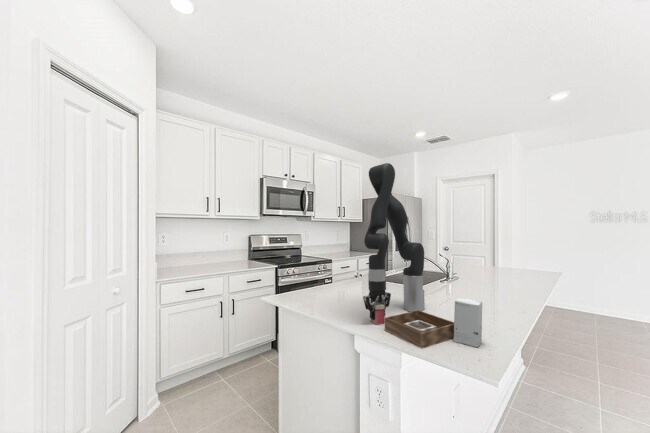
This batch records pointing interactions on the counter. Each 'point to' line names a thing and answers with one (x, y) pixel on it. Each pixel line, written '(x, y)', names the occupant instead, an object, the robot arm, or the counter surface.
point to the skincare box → (468, 322)
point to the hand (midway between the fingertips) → (377, 318)
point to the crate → (420, 328)
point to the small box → (379, 314)
